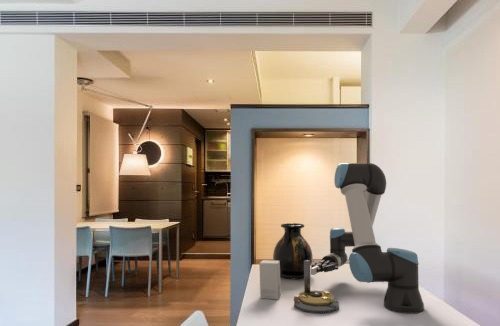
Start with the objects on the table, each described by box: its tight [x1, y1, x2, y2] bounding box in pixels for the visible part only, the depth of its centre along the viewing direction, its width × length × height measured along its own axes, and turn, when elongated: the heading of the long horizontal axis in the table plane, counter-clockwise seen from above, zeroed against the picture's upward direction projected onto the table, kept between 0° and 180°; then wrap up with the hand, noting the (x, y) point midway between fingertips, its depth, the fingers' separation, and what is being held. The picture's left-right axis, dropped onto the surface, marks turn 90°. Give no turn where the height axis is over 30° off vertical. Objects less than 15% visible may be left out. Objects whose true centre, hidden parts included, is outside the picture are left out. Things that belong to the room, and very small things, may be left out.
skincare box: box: [259, 259, 281, 300], centre depth 165 cm, size 8×7×16 cm
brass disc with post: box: [298, 260, 334, 306], centre depth 154 cm, size 14×14×15 cm
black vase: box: [272, 222, 314, 280], centre depth 203 cm, size 22×22×28 cm
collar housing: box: [293, 290, 340, 315], centre depth 153 cm, size 18×18×5 cm
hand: (312, 271), depth 164 cm, fingers closed
